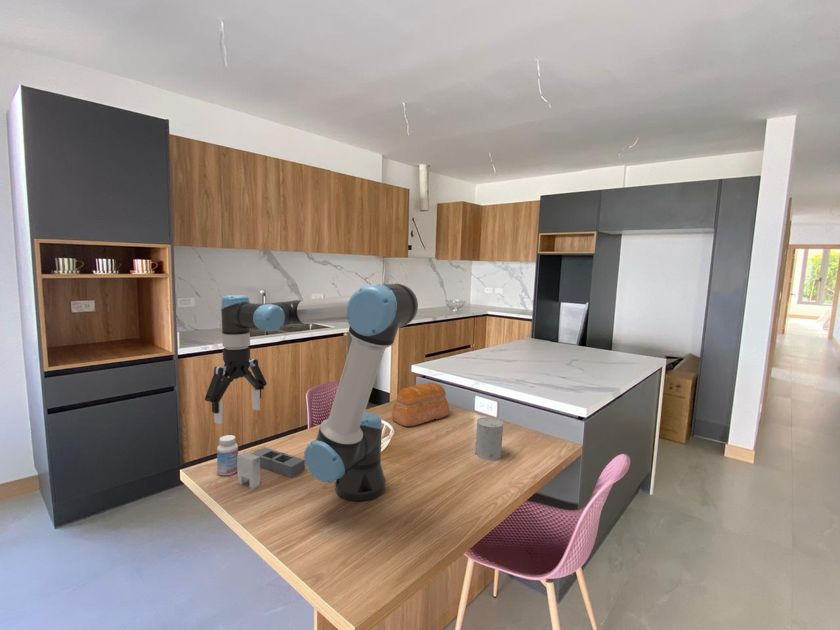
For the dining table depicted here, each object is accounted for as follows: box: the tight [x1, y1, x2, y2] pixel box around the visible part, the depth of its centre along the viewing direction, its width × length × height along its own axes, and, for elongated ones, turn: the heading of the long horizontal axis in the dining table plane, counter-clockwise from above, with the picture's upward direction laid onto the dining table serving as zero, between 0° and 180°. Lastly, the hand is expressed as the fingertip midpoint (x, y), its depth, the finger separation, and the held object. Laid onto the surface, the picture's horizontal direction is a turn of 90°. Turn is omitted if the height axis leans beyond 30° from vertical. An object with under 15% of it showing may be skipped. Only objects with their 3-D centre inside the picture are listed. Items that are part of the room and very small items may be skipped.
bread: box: [391, 382, 450, 427], centre depth 188 cm, size 14×26×15 cm, turn 131°
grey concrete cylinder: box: [474, 416, 504, 461], centre depth 154 cm, size 10×10×12 cm
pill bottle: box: [216, 434, 239, 476], centre depth 134 cm, size 6×6×11 cm
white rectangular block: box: [236, 451, 261, 490], centre depth 127 cm, size 7×3×9 cm, turn 63°
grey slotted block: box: [250, 446, 306, 478], centre depth 139 cm, size 18×6×4 cm, turn 63°
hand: (238, 416), depth 128 cm, fingers open, 13 cm apart
